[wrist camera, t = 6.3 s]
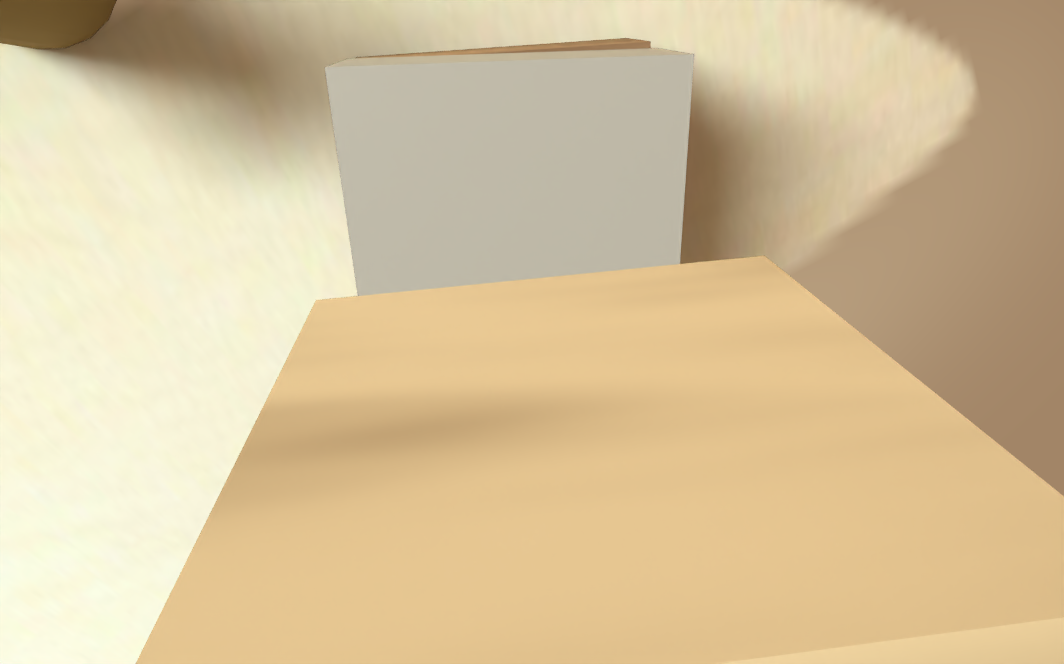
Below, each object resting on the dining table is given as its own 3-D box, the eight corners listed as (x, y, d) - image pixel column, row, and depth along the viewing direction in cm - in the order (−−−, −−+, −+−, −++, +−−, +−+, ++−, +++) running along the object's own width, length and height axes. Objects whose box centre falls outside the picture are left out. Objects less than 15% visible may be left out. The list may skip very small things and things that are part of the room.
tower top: (643, 325, 27) (672, 373, 23) (384, 342, 26) (371, 395, 22) (656, 48, 22) (694, 54, 19) (347, 58, 22) (324, 67, 18)
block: (737, 583, 12) (971, 1067, 6) (389, 628, 11) (326, 1178, 6) (764, 255, 9) (1193, 600, 4) (316, 300, 9) (94, 747, 4)
